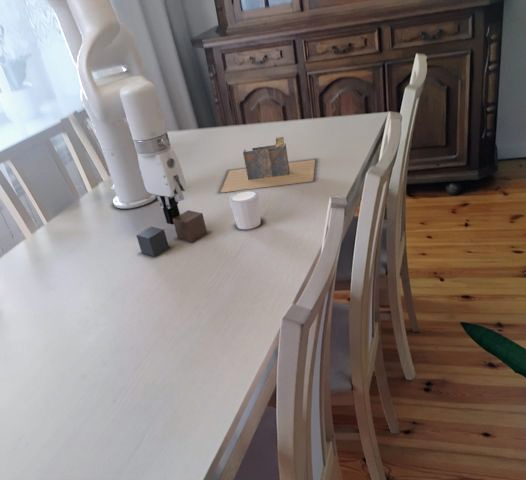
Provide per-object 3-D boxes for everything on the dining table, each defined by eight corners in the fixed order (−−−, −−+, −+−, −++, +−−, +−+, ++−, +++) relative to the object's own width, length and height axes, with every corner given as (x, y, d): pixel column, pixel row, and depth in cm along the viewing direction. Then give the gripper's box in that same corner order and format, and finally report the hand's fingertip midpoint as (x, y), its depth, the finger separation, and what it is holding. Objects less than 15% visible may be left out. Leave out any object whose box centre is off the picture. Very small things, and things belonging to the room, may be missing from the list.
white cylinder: (260, 229, 130) (254, 200, 126) (231, 231, 132) (225, 203, 128) (266, 216, 135) (261, 188, 131) (238, 218, 137) (232, 190, 133)
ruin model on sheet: (315, 159, 161) (311, 124, 156) (313, 181, 148) (308, 143, 143) (229, 170, 166) (222, 136, 160) (220, 192, 153) (212, 156, 147)
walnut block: (177, 238, 134) (172, 218, 131) (193, 229, 136) (188, 210, 133) (192, 242, 131) (186, 222, 128) (207, 233, 133) (202, 213, 130)
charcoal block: (141, 253, 130) (135, 234, 128) (156, 244, 133) (151, 226, 130) (154, 256, 128) (148, 238, 125) (169, 247, 130) (164, 229, 127)
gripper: (187, 140, 122) (206, 220, 133) (144, 136, 131) (165, 211, 142) (161, 152, 118) (183, 233, 128) (118, 147, 127) (142, 223, 138)
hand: (174, 221), depth 135 cm, fingers closed
